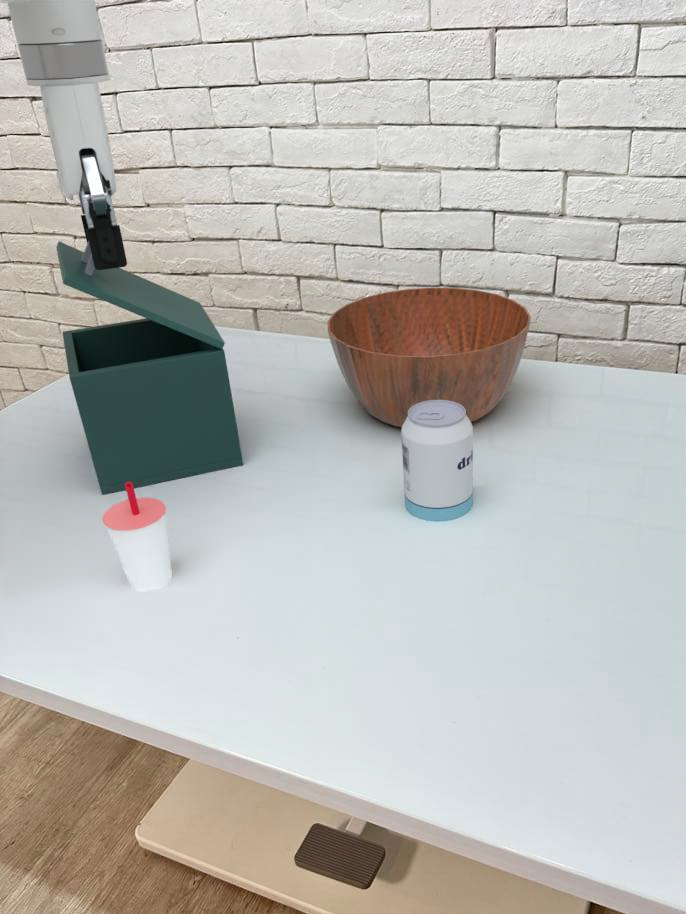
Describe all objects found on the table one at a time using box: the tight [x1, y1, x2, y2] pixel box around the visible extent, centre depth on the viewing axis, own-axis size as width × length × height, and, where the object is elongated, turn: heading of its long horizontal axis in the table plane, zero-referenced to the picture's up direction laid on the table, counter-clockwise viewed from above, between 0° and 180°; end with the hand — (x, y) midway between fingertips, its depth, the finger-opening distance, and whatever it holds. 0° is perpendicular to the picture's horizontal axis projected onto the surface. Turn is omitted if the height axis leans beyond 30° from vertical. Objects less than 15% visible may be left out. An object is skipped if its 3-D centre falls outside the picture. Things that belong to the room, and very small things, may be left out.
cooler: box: [62, 317, 244, 495], centre depth 99 cm, size 16×15×14 cm
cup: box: [101, 482, 173, 593], centre depth 76 cm, size 5×5×12 cm
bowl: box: [326, 287, 532, 428], centre depth 108 cm, size 25×25×11 cm
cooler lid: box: [55, 241, 226, 349], centre depth 92 cm, size 17×15×6 cm
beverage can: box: [400, 400, 474, 523], centre depth 84 cm, size 7×7×12 cm
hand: (107, 258), depth 90 cm, fingers closed on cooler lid, 6 cm apart
